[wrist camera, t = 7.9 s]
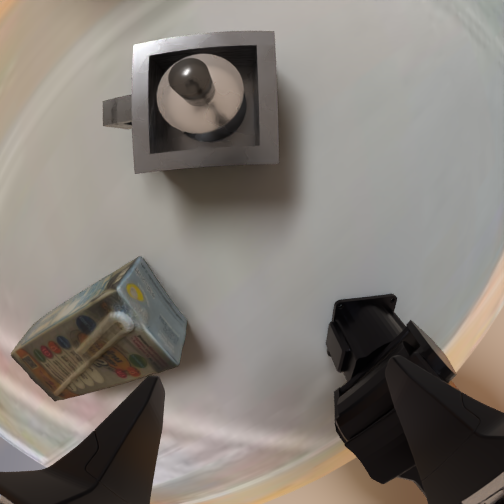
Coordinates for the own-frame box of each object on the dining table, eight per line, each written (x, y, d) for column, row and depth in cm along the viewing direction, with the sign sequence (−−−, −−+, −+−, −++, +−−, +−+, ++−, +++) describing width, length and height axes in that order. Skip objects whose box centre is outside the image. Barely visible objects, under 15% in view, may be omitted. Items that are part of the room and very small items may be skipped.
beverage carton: (194, 323, 24) (183, 376, 18) (73, 370, 26) (53, 407, 20) (143, 251, 21) (111, 290, 15) (33, 321, 23) (5, 354, 17)
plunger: (245, 73, 16) (251, 20, 8) (247, 140, 18) (255, 131, 10) (174, 79, 16) (131, 35, 8) (175, 145, 17) (129, 143, 9)
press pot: (265, 57, 16) (274, 31, 11) (268, 160, 19) (279, 164, 14) (130, 71, 15) (102, 54, 11) (132, 170, 18) (103, 178, 14)
